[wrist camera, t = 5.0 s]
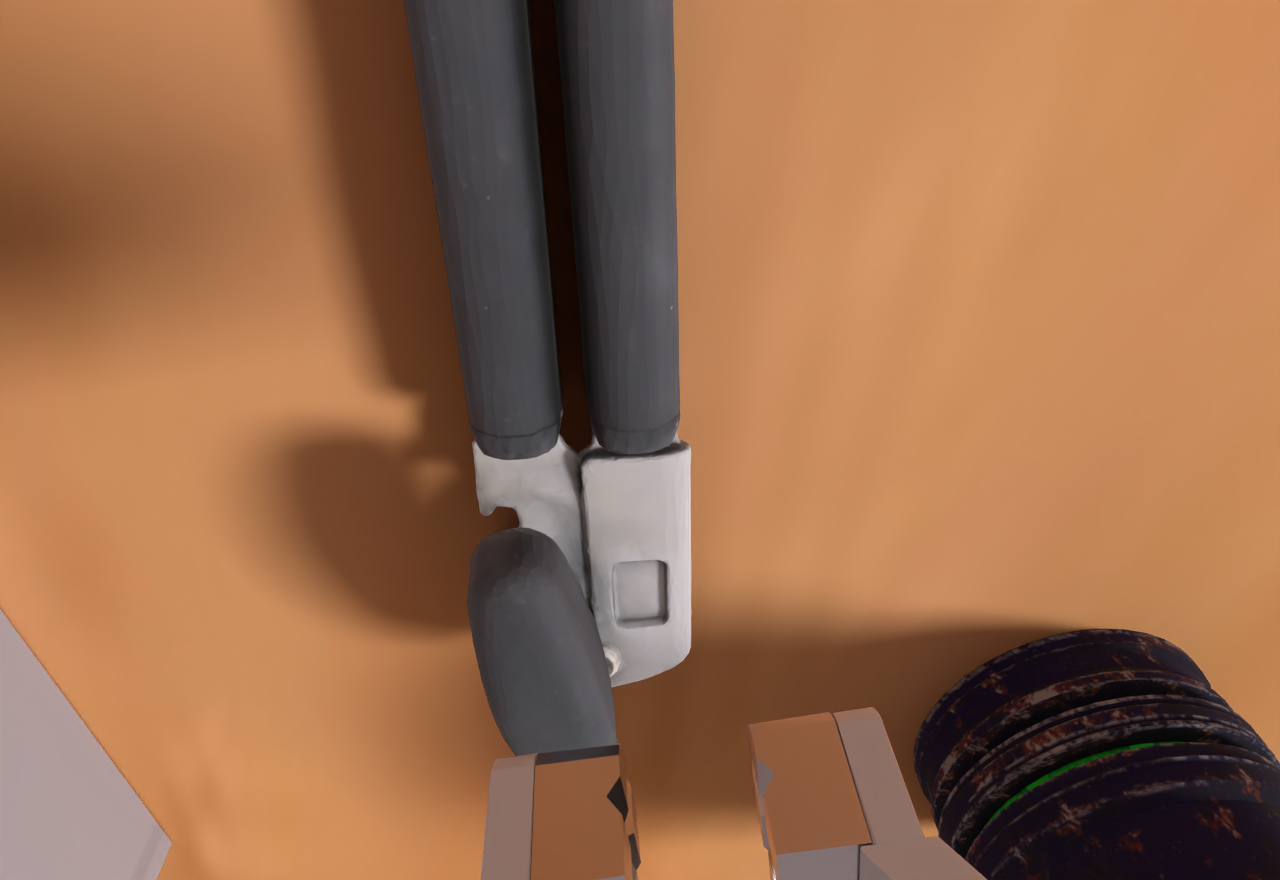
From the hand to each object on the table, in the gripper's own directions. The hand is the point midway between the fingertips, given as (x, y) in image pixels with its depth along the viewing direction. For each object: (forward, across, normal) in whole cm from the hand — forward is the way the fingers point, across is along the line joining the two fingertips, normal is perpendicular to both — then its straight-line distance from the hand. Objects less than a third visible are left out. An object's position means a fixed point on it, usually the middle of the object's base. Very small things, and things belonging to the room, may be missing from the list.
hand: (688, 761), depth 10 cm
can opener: (+12, +1, 0) cm, 12 cm away
